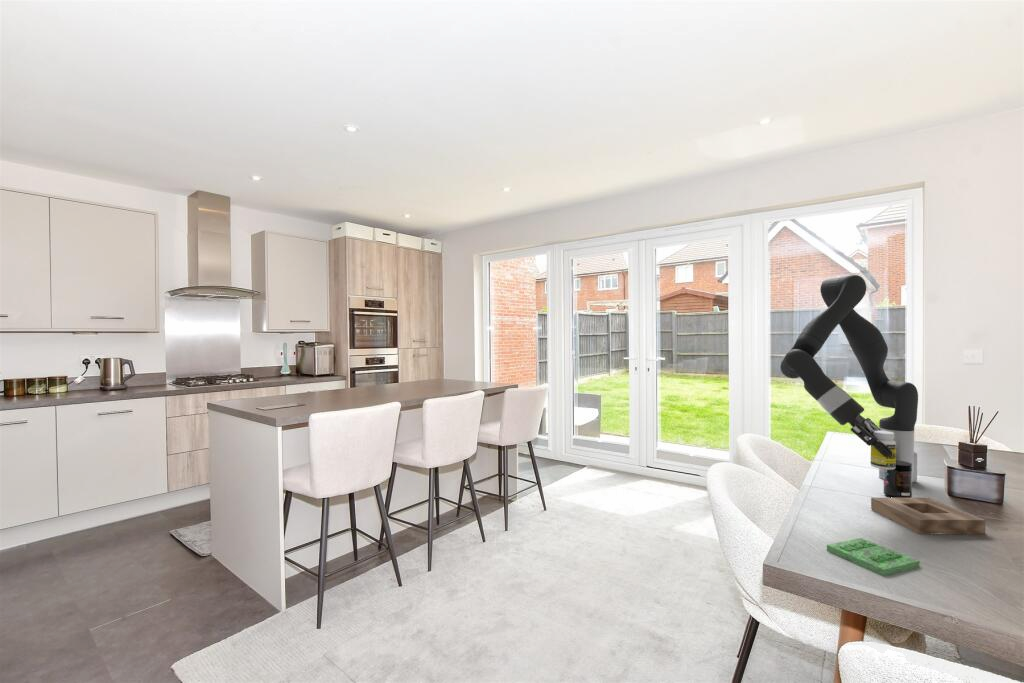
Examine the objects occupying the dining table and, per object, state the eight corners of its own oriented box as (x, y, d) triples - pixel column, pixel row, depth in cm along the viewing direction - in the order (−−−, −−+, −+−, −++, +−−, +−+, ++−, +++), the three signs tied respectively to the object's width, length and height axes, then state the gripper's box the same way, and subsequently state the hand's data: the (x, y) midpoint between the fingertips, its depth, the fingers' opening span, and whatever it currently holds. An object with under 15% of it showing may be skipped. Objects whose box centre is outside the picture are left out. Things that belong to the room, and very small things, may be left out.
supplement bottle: (889, 471, 127) (889, 435, 127) (866, 466, 132) (866, 431, 132) (900, 468, 129) (900, 432, 129) (877, 463, 134) (877, 429, 134)
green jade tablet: (883, 579, 96) (883, 567, 96) (826, 553, 108) (826, 542, 108) (919, 569, 100) (919, 558, 100) (860, 546, 111) (861, 535, 111)
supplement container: (897, 492, 147) (897, 459, 146) (918, 500, 140) (918, 465, 140) (877, 493, 146) (877, 459, 146) (897, 501, 139) (897, 465, 139)
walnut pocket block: (928, 510, 132) (929, 497, 132) (985, 534, 116) (985, 520, 116) (871, 509, 132) (871, 497, 132) (919, 534, 116) (919, 519, 116)
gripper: (844, 399, 131) (899, 450, 122) (856, 394, 141) (908, 440, 132) (822, 416, 135) (874, 466, 126) (835, 410, 145) (884, 456, 136)
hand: (891, 453), depth 129 cm, fingers closed on supplement bottle, 5 cm apart
